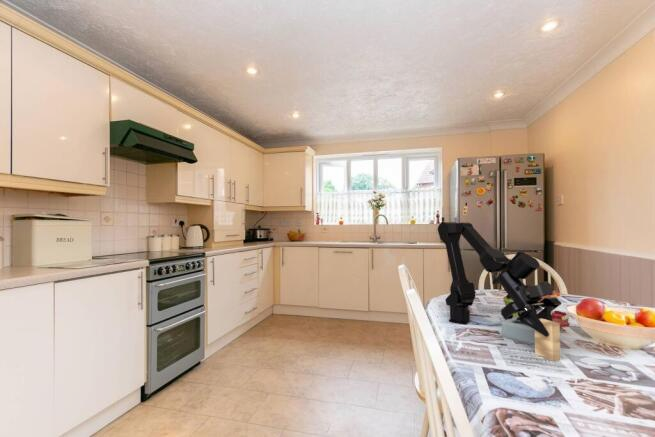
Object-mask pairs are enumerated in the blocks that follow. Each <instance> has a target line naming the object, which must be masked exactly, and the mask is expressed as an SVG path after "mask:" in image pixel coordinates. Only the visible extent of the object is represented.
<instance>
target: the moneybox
mask: <svg viewBox="0 0 655 437" xmlns="http://www.w3.org/2000/svg"><path fill="white" fill-rule="evenodd" d="M516 319H517V317H513V318H512V319H508V320H505V319H503V320H502V321H501V337H502V338H506V339H508V340H514V341H517V342H520V343H524V344H528V345H531V346H535V329H533V328H531V327H530V326H528V325H526V324H524V323H523V322H521V321H517V320H516Z"/></svg>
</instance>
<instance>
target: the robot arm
mask: <svg viewBox="0 0 655 437" xmlns="http://www.w3.org/2000/svg"><path fill="white" fill-rule="evenodd" d="M437 232H438V236H439V239H440V240H441V241H442V242H443V244H444V245H445V249H446V254H447V258H448V264H449V269H450V273H451V278H452V281H451V285H450V287H449V290H450V294H448V296H447V297H446V298H445V299H444V300H445V304H446V305H447V306H449V319H448V322H451V323H455V324H462V325H468V324H469V323H470V321H471V310H470V307H471V306H473V304H474V301H475V299H476V294H477V292H476V289H475V285H474V282H470V281H469V280H468V279H467V276H466V271H465V267H464V261H463V257H462V253H461V248H460V240H461V236H462V237H463V239H465V241H467V243H468V244H469V245H470V247H471V248H472V249H473V250H474V251H475V252H476V254H478V256H479V257H478V258H479V262H480V264H481V266H482V267H483V269H484V270H485V271H486V272H487V273H491V274H492V273H499V274H498V275H493V276H492V277H493V279H492V284H493V285H499V284H500V286H501V287H502V289H503V290H504V291H505V292H506V294H507V295H506V297H507V298H508V299H512V300H513V302H510V303H508V304H507V305H506V306H504V307H502V309H501V310H500V313H501V314H500V315H501V316H502V318H503V320H508V319H512V318H513V315H512V314H513V313H518V316H519V317H518V318H517V319H516V320H517V321H521V322H523V323H524V324H526V325H528V326H530V327H531V328H533V329H535V330H536V331H538V332H539V333H541V334H543V335H544V336H546V337H547V336H549V333H548V331H547V330H546V328H545V327H544V325H543V324H542V322H541V321H540V320H539V319H541V318H542V319H546V320H549V321H553V320H552V317H551V313H552V311H555V309H557V308H558V307H559V306H561V305H562V302H561V300H559V299H558V297H556V298H555V297H548V298H544V299H543V300H542V301H540V300H541V299H542V296H546V295H553V293H552V292H553V291H554V290H555V286H553V285H552V284H551V283H550V282H549V281H542V282H539V284H536V285H532V286H531V285H530V284H525V283H524V282H523V280H526V279H528V278H529V277H530V276H531V275H532V274H533V273H534V272H535V271H536V270H537V269H539V268H540V265H541V264H540V261H538V260H537V258H535V257H533V256H532V255H530V254H527V253H526V252H525V251H524V250H521V251H517V252H516V253H515V255H514V256H513V257H512V258H508V256H506V255H505V254H504V253H503V252H501V251H500V250H497V249H496V248H493V247H492V246H491V245H490V244H489V243H488V242H487V241H486V239H485V238H484V237H483V236H482V235H481V234H480V233H479V232H478V230H476V229H475V227H474V226H473V224H472V222H471V223H470V222H463V221H461V222H456V221H442V222H440V223H439V224H438V226H437ZM538 301H540V302H539V303H538ZM469 306H470V307H469Z"/></svg>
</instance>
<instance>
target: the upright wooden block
mask: <svg viewBox="0 0 655 437" xmlns="http://www.w3.org/2000/svg"><path fill="white" fill-rule="evenodd" d="M539 320H540V321H541V322H542V324H543V325H544V327H545V328H546V330H547V331H548V333H549V336H547V337H546V336H544V335H543V334H541V333H539V332H538V331H536V330H535V345H534V354H535V355H536V356H538V357H542V358H543V359H546V360H549V361H550V362H558V361H561V330H560V328H561V327H560V323H556V322H553V321H549V320H546V319H542V318H541V319H539Z"/></svg>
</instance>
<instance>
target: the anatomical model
mask: <svg viewBox="0 0 655 437" xmlns="http://www.w3.org/2000/svg"><path fill="white" fill-rule="evenodd" d="M552 293H553V295H546V296H542V299H541V300H540V301H542V300H543V299H544V298H548V297H555V298H558V297H561V293H560V292H558V291H557V290H556V289H554V291H553V292H552ZM540 301H538V303H539V302H540ZM553 311H554V312H551V317H552V320H553V322H556V323H560V328H569V327H570V323H569V317H570V315H569V313H566V312H563V311H559V310H553Z"/></svg>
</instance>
